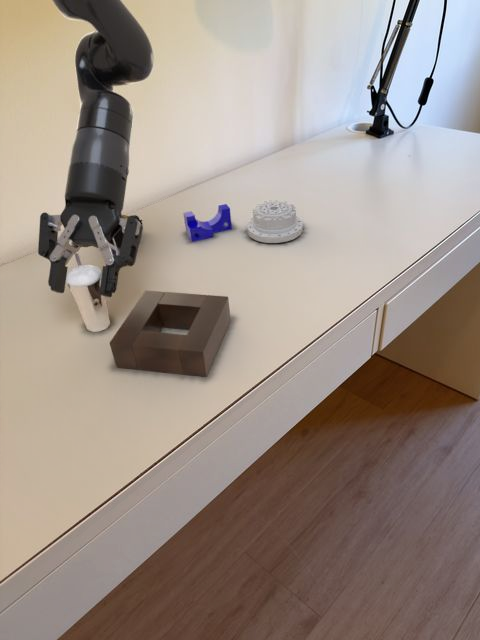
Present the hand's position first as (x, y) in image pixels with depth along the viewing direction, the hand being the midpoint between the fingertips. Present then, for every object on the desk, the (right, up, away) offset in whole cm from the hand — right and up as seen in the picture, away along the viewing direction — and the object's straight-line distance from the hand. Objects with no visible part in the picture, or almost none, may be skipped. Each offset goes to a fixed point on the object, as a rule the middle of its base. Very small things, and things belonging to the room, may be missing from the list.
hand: (81, 293), depth 69 cm
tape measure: (-1, +12, +25) cm, 28 cm away
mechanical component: (+26, +14, +25) cm, 39 cm away
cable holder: (+15, +14, +26) cm, 32 cm away
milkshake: (+1, -4, +5) cm, 7 cm away
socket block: (+12, -6, +1) cm, 14 cm away
